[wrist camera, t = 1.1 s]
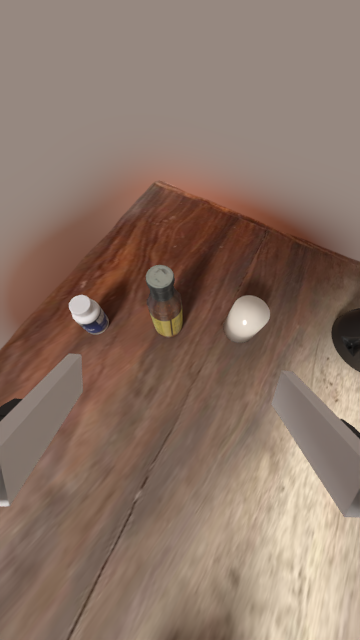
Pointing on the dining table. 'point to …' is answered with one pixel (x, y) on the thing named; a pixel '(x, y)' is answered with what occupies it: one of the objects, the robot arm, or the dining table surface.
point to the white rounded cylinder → (246, 318)
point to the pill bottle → (88, 314)
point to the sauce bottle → (164, 301)
